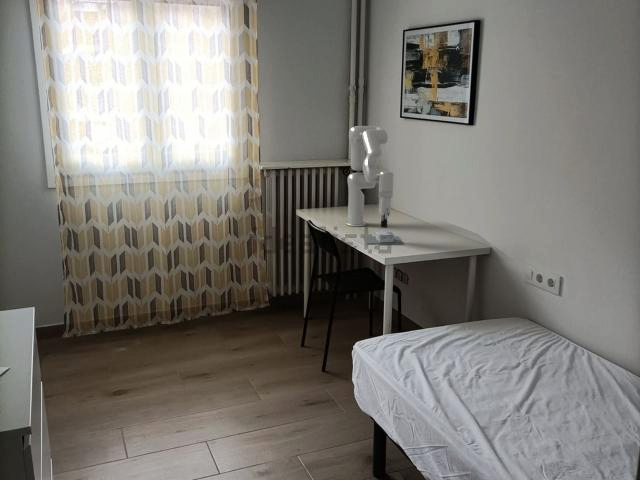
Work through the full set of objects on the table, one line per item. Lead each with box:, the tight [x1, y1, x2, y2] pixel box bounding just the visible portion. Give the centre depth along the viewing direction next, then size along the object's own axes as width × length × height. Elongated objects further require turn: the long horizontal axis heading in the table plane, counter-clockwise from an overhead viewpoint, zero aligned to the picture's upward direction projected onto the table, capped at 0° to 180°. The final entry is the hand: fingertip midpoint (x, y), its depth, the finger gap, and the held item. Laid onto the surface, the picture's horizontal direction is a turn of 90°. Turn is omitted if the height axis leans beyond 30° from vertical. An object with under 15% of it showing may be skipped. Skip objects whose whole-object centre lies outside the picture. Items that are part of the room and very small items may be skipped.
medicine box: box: [375, 230, 395, 243], centre depth 328 cm, size 8×4×9 cm
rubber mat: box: [363, 235, 405, 245], centre depth 331 cm, size 15×20×1 cm
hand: (383, 227), depth 328 cm, fingers closed
